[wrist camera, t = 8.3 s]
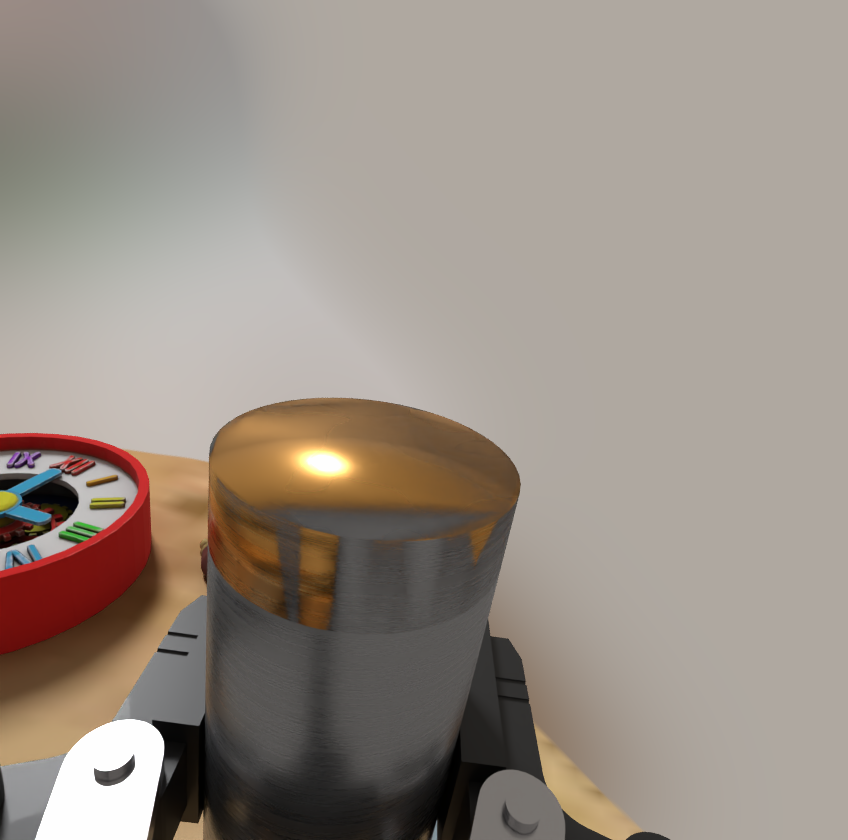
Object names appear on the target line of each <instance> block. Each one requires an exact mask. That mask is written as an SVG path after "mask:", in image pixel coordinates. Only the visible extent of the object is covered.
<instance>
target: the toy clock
mask: <svg viewBox="0 0 848 840" xmlns="http://www.w3.org/2000/svg"><path fill="white" fill-rule="evenodd" d="M150 552H151V517H150V491H149V478H148V475H147V472H146V470H145V468H144V467H143V466H142V464H141V463H140V462H139V461H138V460H137V459H136V458H134V457H133V456H132V455H130V454H129V453H128V452H126V451H123V450H121V449H119V448H117V447H115V446H112V445H109V444H106V443H103V442H100V441H97V440H92V439H87V438H82V437H76V436H68V435H59V434H41V433H22V434H21V433H18V434H17V433H16V434H0V655H1V654H5V653H9V652H13V651H16V650H18V649H21V648H24V647H27V646H30V645H32V644H35V643H38V642H41V641H44V640H46V639H49V638H51V637H53V636H55V635H57V634H59V633H62V632H64V631H66V630H68V629H70V628H72V627H74V626H76V625H78V624H80V623H82V622H83V621H85V620H87V619H88V618H90V617H92V616H93V615H95V614H97V613H98V612H100V611H102V610H103V609H104V608H105V607H107V606H108V605H109V604H111V603H112V602H113V601H114V600H116V599H117V598H118V597H120V596H121V595H122V594H123V593H124V592H125V591H126V590H127V589H128V588H129V587H130V586H131V585H132V584H133V583H134V582H135V580H136V579H137V578H138V576H139V575H140V573H141V572H142V570H143V569H144V567H145V566H146V563H147V560H148V558H149V555H150Z"/></svg>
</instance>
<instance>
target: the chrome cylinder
mask: <svg viewBox="0 0 848 840" xmlns="http://www.w3.org/2000/svg"><path fill="white" fill-rule="evenodd" d="M520 485H521V483H520V478H519V474H518V471H517V469H516V467H515V465H514V464H513V462H512V461H511V460H510V458H509V457H508V456H507V455H506V454H505V453H504V452H503V451H502V450H501V449H500V448H499V447H498V446H496V445H495V444H494V443H493V442H492V441H490V440H489V439H487V438H485V437H484V436H482V435H481V434H479V433H477V432H475V431H473V430H472V429H470V428H468V427H466V426H464V425H462V424H459V423H458V422H455V421H452V420H450V419H447V418H445V417H442V416H439V415H436V414H433V413H430V412H427V411H423V410H420V409H416V408H412V407H407V406H403V405H398V404H393V403H387V402H381V401H373V400H364V399H353V398H312V399H300V400H291V401H285V402H280V403H275V404H271V405H267V406H263V407H260V408H257V409H254V410H251V411H249V412H246V413H244V414H242V415H240V416H238V417H236V418H235V419H233V420H232V421H230V422H228V423H227V424H226V425H225V426H223V427H222V428H221V429H220V430H219V431H218V433H217V434H216V435H215V437H214V438H213V441H212V443H211V446H210V453H209V501H208V563H207V625H206V687H205V749H204V811H203V840H432V837H433V833H434V829H435V825H436V821H437V817H438V813H439V809H440V805H441V801H442V798H443V794H444V790H445V786H446V782H447V778H448V774H449V770H450V766H451V762H452V758H453V754H454V750H455V746H456V742H457V738H458V734H459V730H460V726H461V723H462V719H463V715H464V711H465V707H466V703H467V699H468V695H469V691H470V687H471V683H472V679H473V675H474V671H475V667H476V663H477V659H478V655H479V651H480V648H481V644H482V640H483V636H484V632H485V628H486V624H487V620H488V616H489V612H490V608H491V604H492V600H493V596H494V592H495V588H496V584H497V580H498V576H499V572H500V569H501V564H502V560H503V557H504V553H505V549H506V545H507V541H508V536H509V533H510V529H511V525H512V521H513V517H514V513H515V509H516V505H517V501H518V497H519V493H520Z"/></svg>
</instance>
